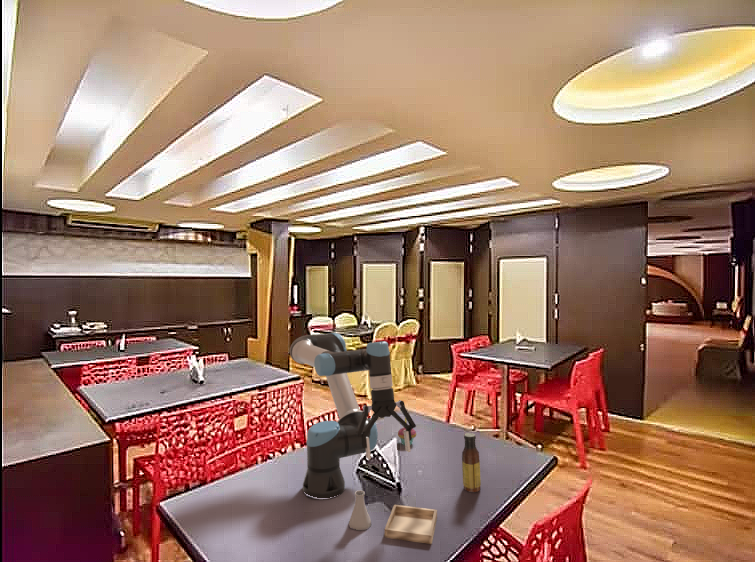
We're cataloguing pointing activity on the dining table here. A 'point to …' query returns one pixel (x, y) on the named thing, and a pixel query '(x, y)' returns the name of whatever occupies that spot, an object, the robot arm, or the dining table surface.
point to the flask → (360, 513)
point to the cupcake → (401, 434)
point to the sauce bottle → (471, 464)
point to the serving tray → (411, 524)
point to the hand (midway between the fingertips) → (388, 454)
